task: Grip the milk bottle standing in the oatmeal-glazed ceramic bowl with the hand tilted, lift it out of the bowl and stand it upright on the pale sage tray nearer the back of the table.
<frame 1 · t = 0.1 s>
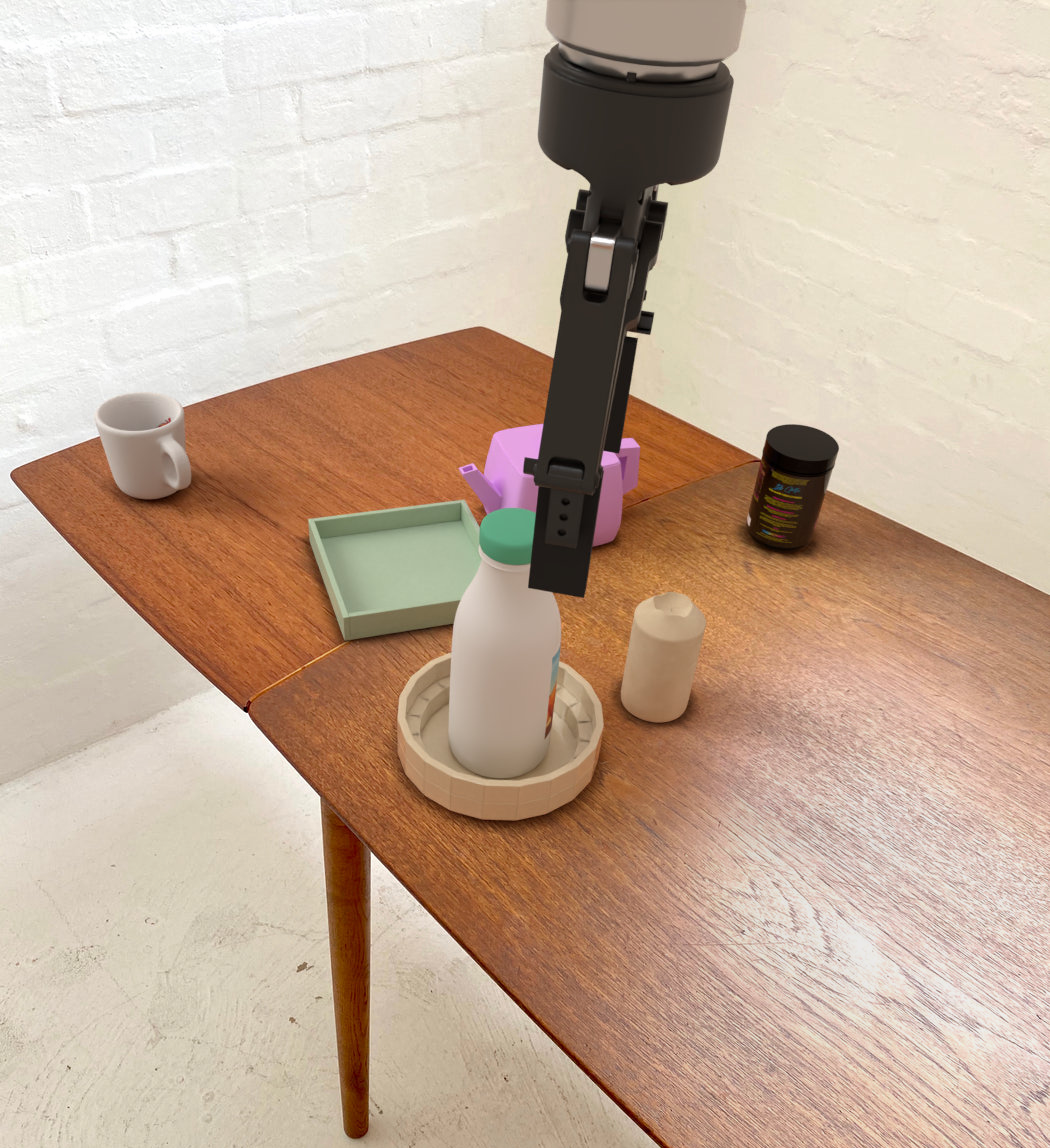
hand: (578, 512, 58), 29 cm above the table, tool pointing down, fingers open, 13 cm apart
supplement container: (777, 537, 110), on the table
milk bottle: (498, 747, 85), resting on bowl
teapot: (544, 527, 108), on the table
candle: (653, 702, 90), on the table
bowl: (498, 748, 85), on the table
cup: (160, 493, 108), on the table
tray: (408, 576, 100), on the table
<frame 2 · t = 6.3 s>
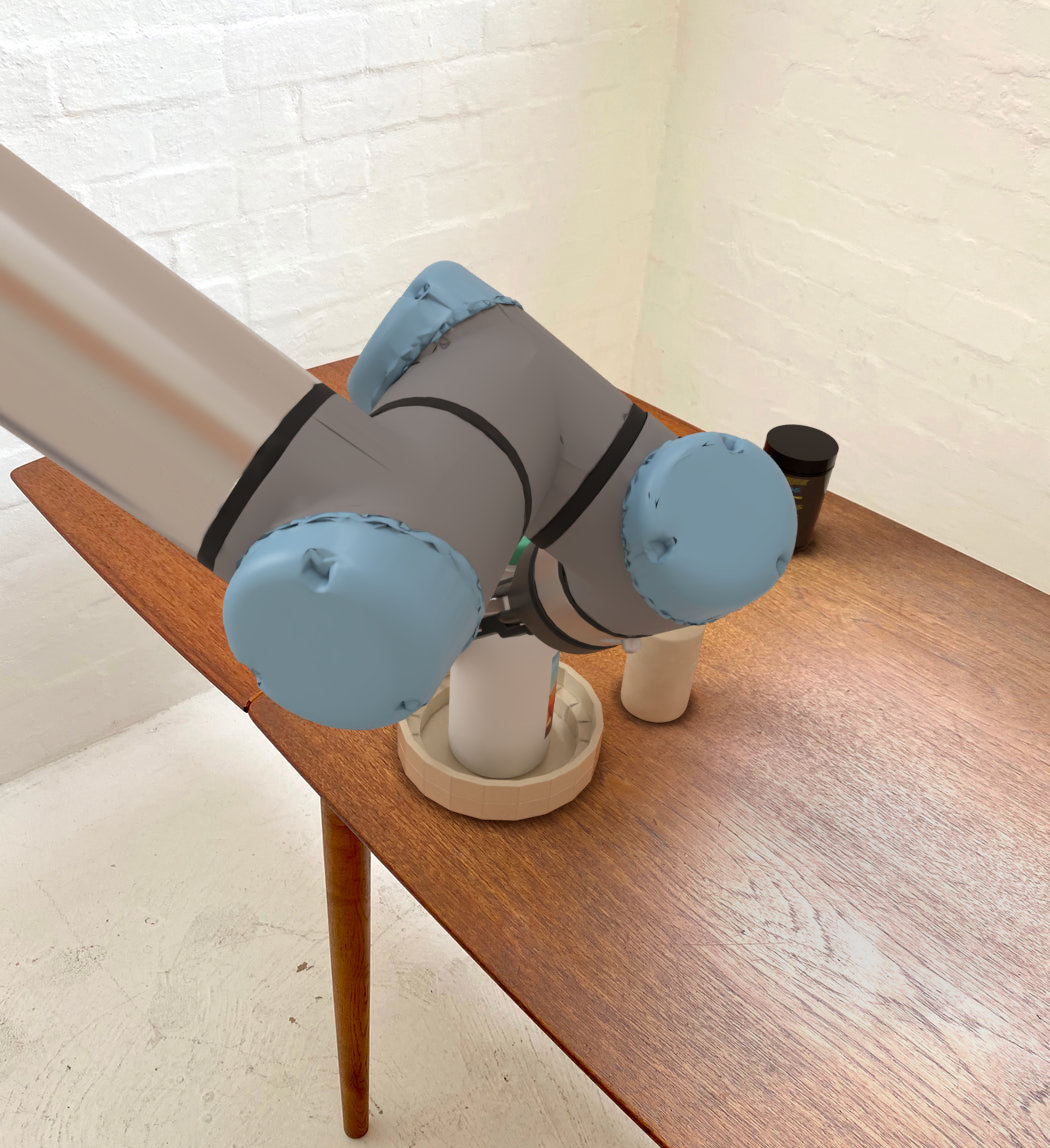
hand: (490, 629, 81), 9 cm above the table, tool tilted 45°, fingers closed on milk bottle, 8 cm apart
milk bottle: (498, 747, 85), resting on bowl, touching gripper
everything else where it was.
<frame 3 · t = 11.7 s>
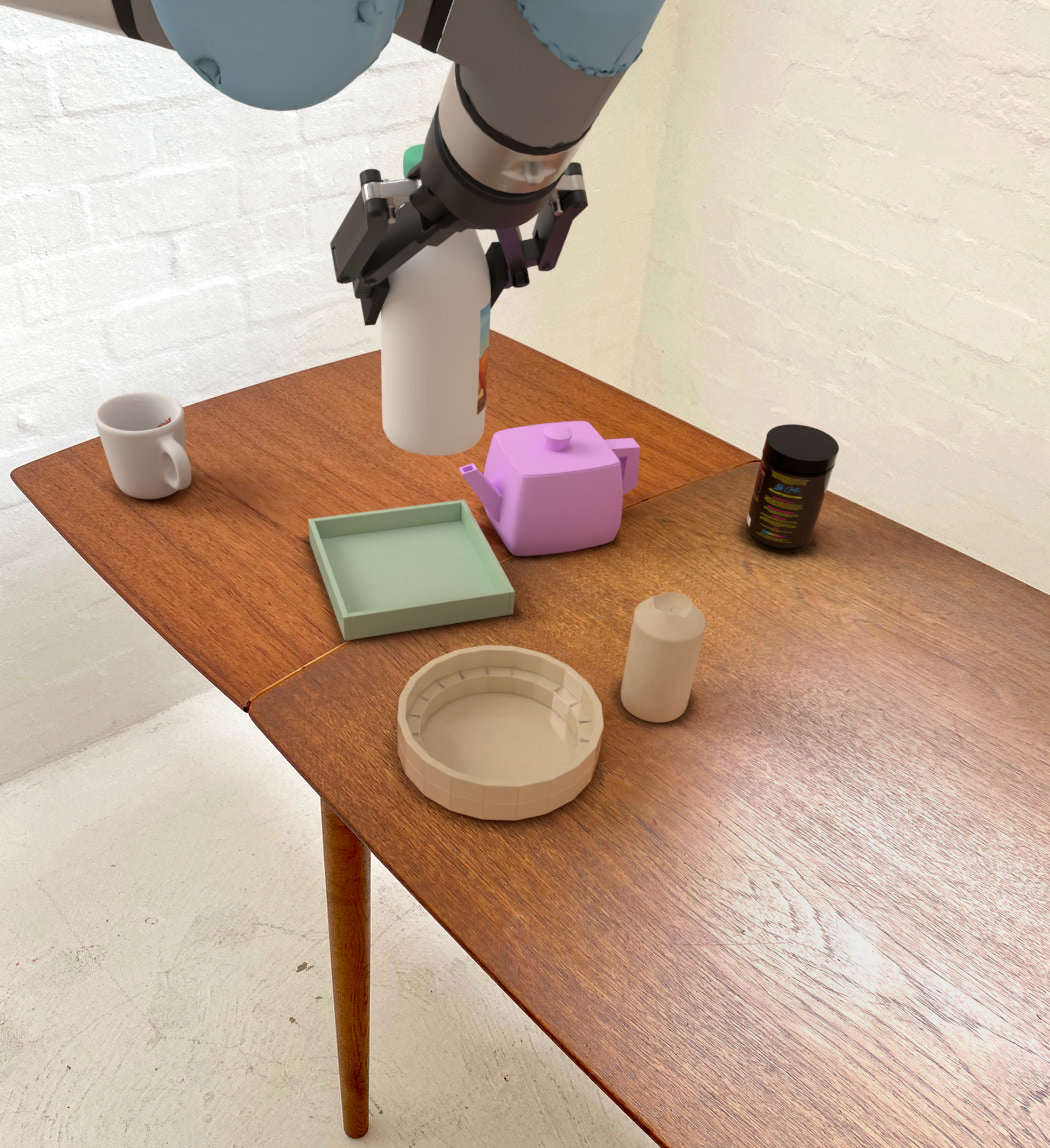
hand: (423, 302, 81), 26 cm above the table, tool tilted 45°, fingers closed on milk bottle, 8 cm apart
milk bottle: (433, 435, 84), point 18 cm above the table, touching gripper
everything else where it was.
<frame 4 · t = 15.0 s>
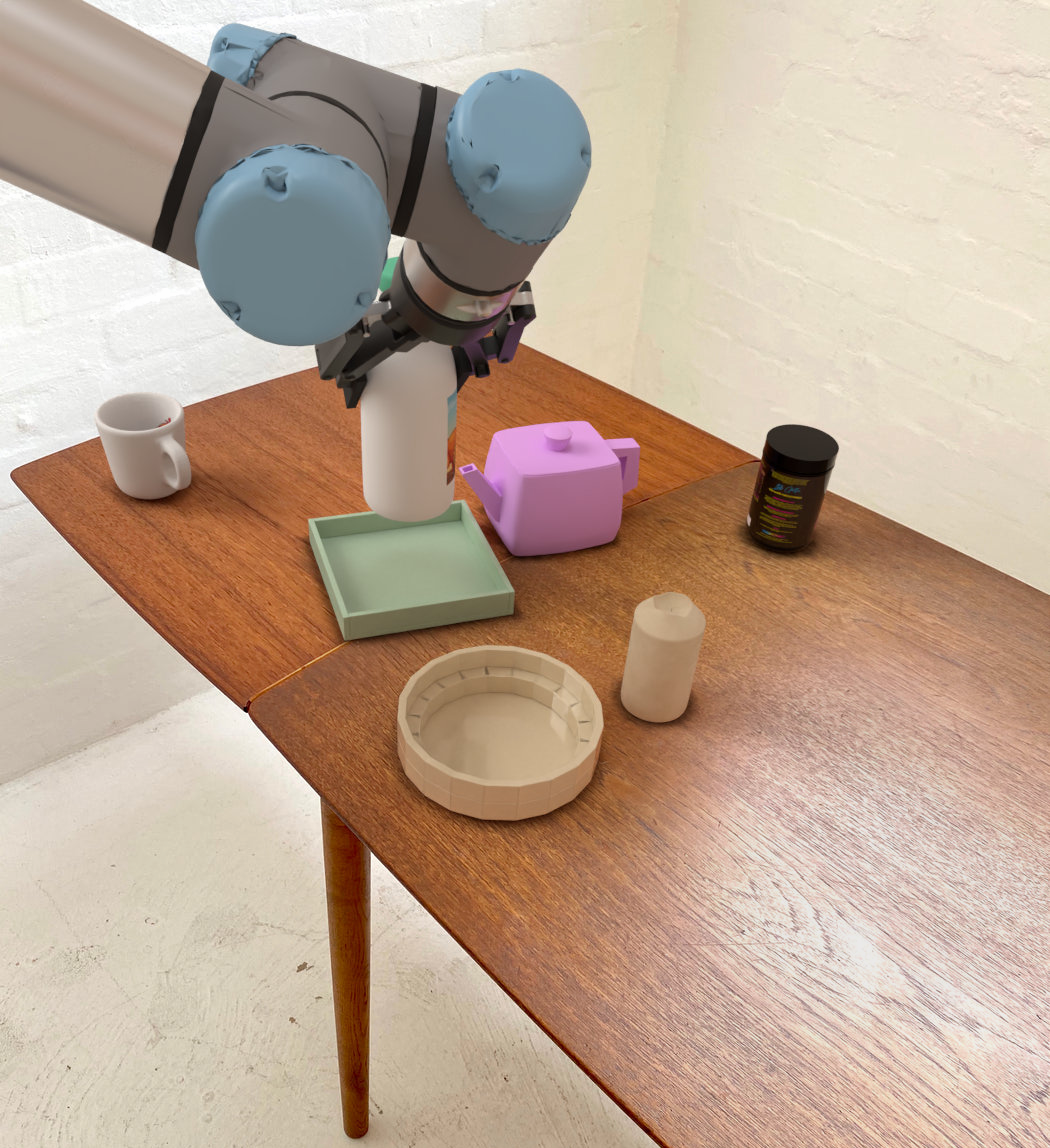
hand: (398, 387, 91), 17 cm above the table, tool tilted 45°, fingers closed on milk bottle, 8 cm apart
milk bottle: (408, 501, 95), point 8 cm above the table, touching gripper
everything else where it was.
when the fingers open (9 cm above the table, at t = 17.6 s): milk bottle stays where it is, resting on tray.
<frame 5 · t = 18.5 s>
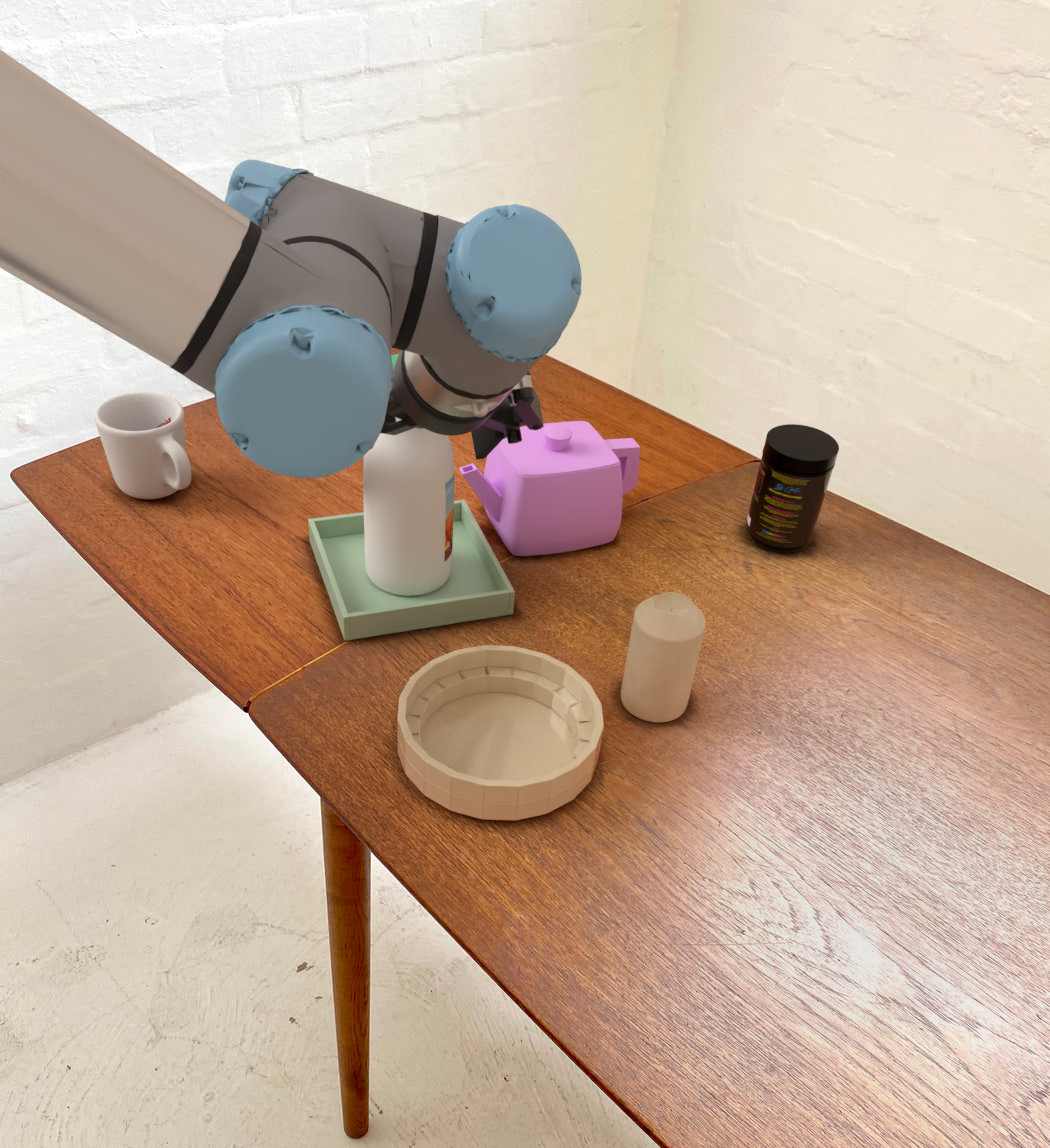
hand: (400, 452, 94), 12 cm above the table, tool tilted 45°, fingers open, 13 cm apart
milk bottle: (408, 574, 100), resting on tray
everything else where it was.
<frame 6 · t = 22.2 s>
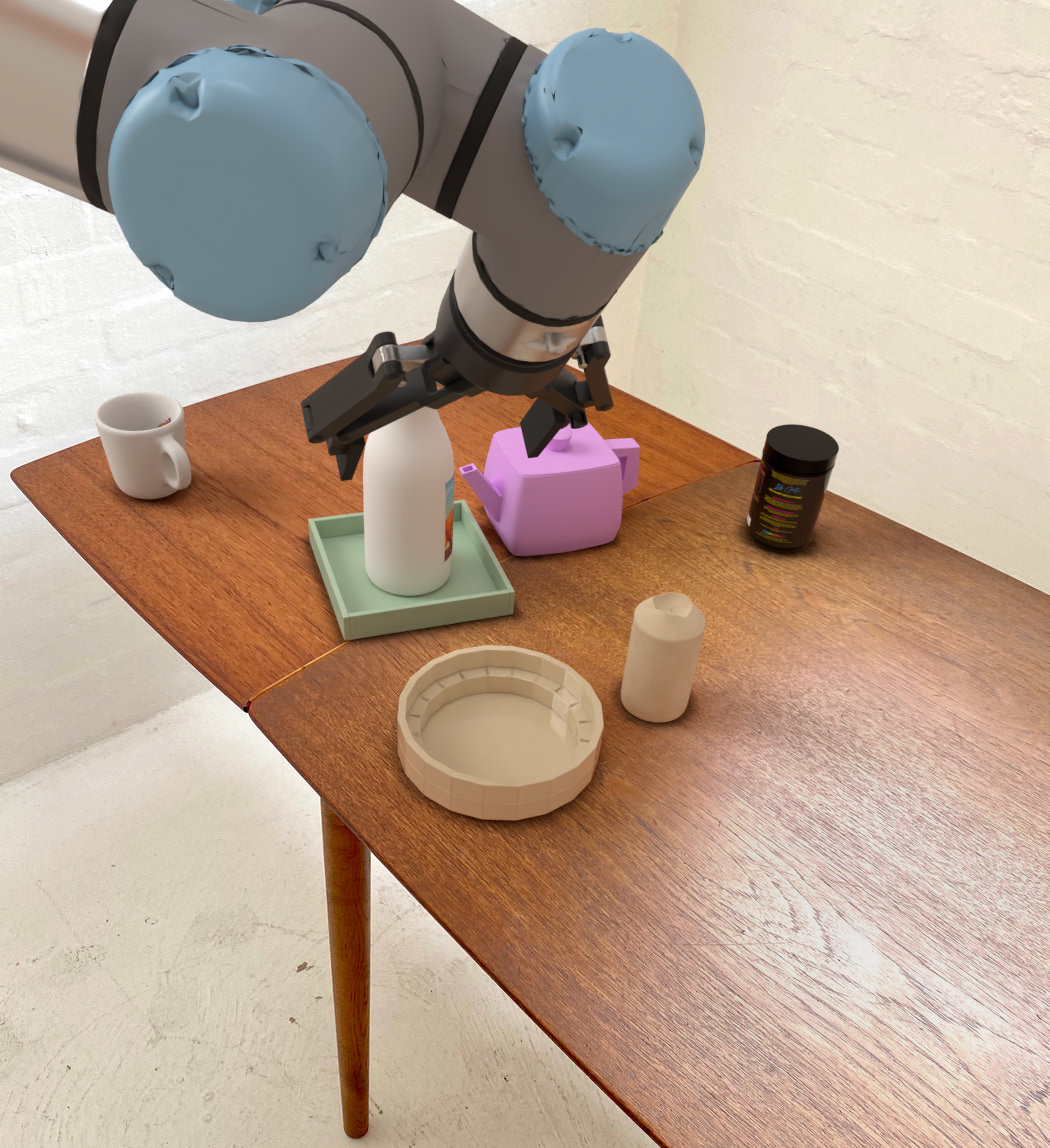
hand: (437, 450, 78), 20 cm above the table, tool tilted 40°, fingers open, 13 cm apart
nothing on the table moved.
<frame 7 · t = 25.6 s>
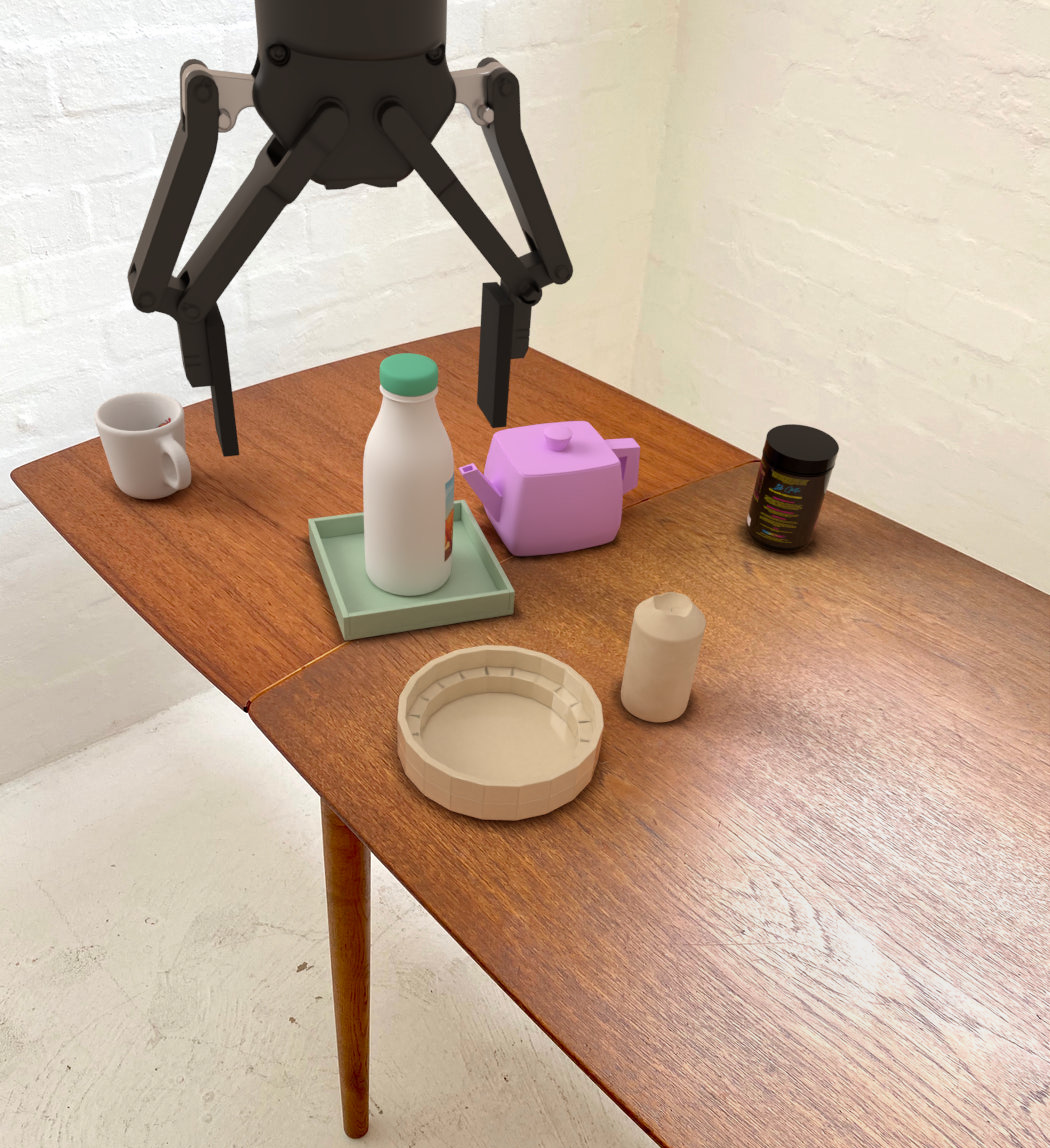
hand: (364, 429, 56), 32 cm above the table, tool pointing down, fingers open, 13 cm apart
nothing on the table moved.
at the end: milk bottle inside the target area in the tray (0.1 cm from its centre), point 0.3 cm above the tray's base; milk bottle tilted 0°; the gripper is holding nothing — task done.
